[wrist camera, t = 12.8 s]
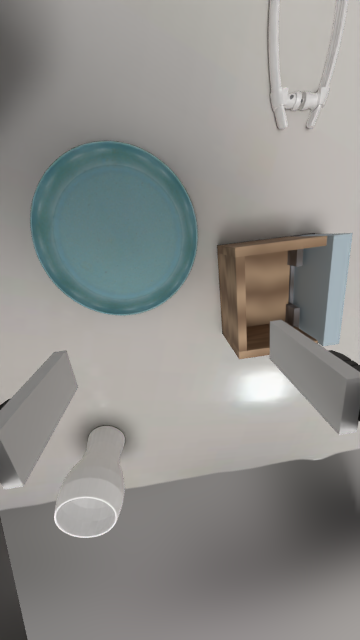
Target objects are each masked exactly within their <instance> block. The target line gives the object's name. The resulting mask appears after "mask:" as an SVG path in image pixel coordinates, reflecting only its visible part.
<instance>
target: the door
mask: <svg viewBox="0 0 360 640" xmlns="http://www.w3.org/2000/svg"><path fill="white" fill-rule="evenodd" d="M352 234H353V233H343V234H310V235H302V236H327V244H326V246H320V247H312V248H304V249H303V266H298V267H296V266H295V271H294V292H293V305H295V306H297V307H299V308H300V318H299V329H301V330H302V331H304V332H305V333H307V334H308V335H310V336H312V337H313V338H315V339H316V340H318V343H319V344H321V345H322V346H328V345H335V344H339V339H340V331H341V323H342V315H343V307H344V299H345V291H346V282H347V274H348V266H349V258H350V250H351V242H352Z"/></svg>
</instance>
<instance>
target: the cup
mask: <svg viewBox="0 0 360 640" xmlns="http://www.w3.org/2000/svg"><path fill="white" fill-rule="evenodd" d="M124 444H125V437H124V435H123V433H122V432H121V431H120V430H119V429H117V428H115V427H112V426H101V427H98V428H96V429H94V430H93V431H92V432H91V433H90V435H89V437H88V442H87V449H86V452H85V454H84V456H83V458H82V459H81V460H80V461H79V462H78V463H77V464H76V465H75V466H74V467H73V468H72V469H71V471H70V472H69V473H68V475H67V476H66V477H65V479H64V481H63V483H62V486H61V488H60V491H59V493H58V496H57V501H56V507H55V514H54V520H55V523H56V525H57V526H58V527H59V529H60V530H62V531H63V532H64V533H67V534H69V535H71V536H75V537H82V538H89V537H96V536H99V535H102V534H104V533H106V532H108V531H109V530H110V529H112V528H113V526H114V525H115V523H116V521H117V519H118V516H119V513H120V510H121V508H122V504H123V499H124V492H125V485H124V478H123V472H122V469H121V467H120V455H121V453H122V450H123V447H124Z"/></svg>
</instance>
